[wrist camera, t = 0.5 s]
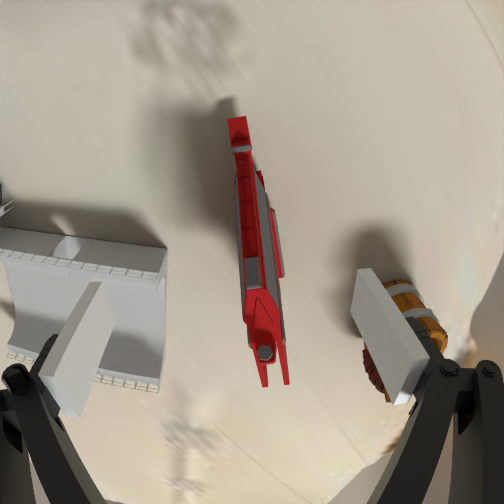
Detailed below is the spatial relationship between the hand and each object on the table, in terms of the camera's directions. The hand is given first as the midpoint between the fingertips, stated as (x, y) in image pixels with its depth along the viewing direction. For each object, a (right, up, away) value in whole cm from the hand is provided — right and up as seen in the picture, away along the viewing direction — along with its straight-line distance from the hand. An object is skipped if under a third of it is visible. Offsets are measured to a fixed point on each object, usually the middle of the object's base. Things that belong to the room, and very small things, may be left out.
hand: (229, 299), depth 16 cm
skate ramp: (-27, -3, +30) cm, 40 cm away
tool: (+1, +11, +28) cm, 30 cm away
